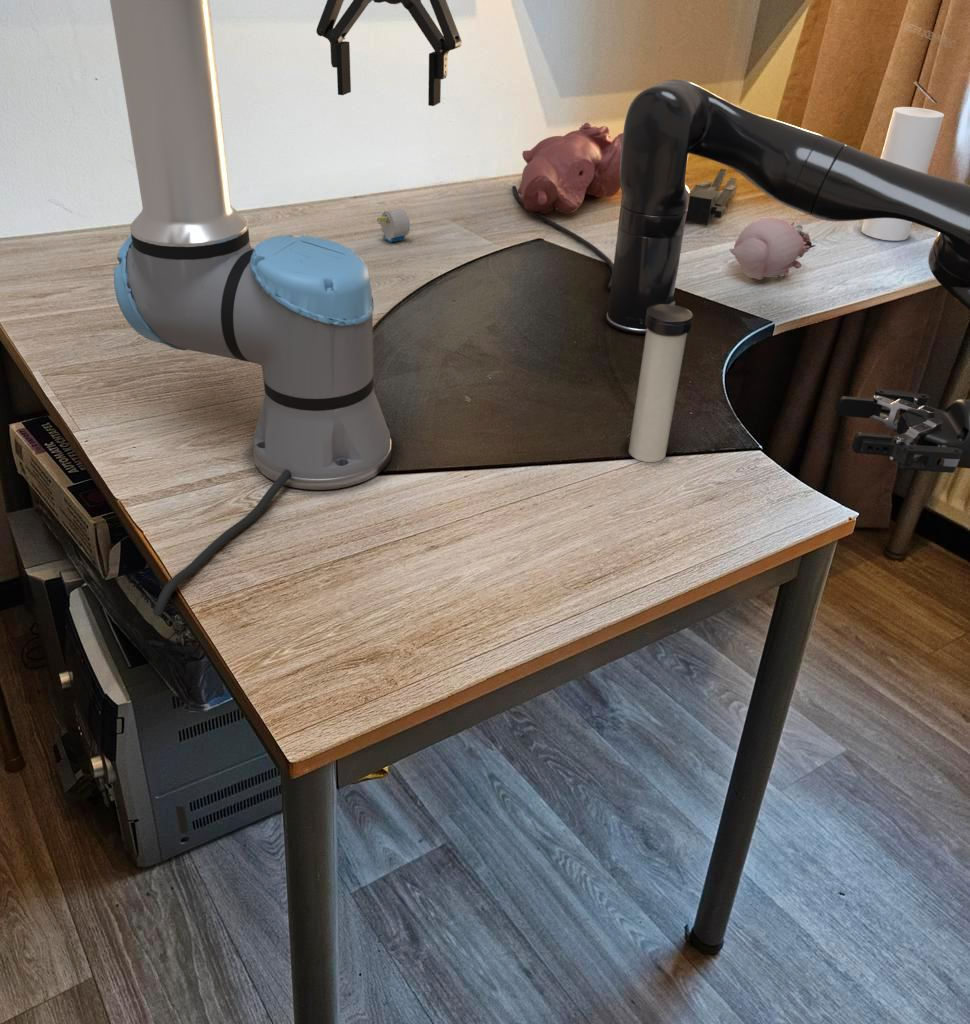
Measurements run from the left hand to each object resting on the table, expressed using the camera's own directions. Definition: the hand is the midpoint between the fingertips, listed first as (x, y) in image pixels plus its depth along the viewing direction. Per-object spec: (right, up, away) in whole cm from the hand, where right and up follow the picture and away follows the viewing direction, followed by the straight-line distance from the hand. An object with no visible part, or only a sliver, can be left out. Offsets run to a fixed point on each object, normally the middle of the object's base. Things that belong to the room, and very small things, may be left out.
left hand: (388, 99), depth 134 cm
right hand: (+54, -48, -27) cm, 77 cm away
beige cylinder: (+32, -51, -23) cm, 64 cm away
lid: (+33, -37, -32) cm, 59 cm away
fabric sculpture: (+31, +4, +58) cm, 65 cm away
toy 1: (+59, +5, +61) cm, 85 cm away
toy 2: (+61, -18, +28) cm, 69 cm away
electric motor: (-3, -10, +35) cm, 36 cm away
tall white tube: (+90, -4, +51) cm, 103 cm away
